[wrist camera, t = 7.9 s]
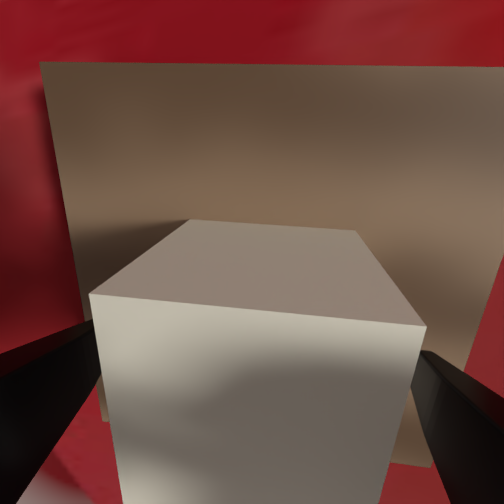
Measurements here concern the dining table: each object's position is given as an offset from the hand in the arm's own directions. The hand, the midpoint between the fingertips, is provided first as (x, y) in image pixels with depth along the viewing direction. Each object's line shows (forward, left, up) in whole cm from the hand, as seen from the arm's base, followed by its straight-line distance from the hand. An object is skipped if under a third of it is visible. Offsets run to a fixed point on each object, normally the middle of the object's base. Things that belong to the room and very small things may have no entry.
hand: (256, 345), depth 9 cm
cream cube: (0, 0, -3) cm, 3 cm away
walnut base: (0, 0, -6) cm, 6 cm away
